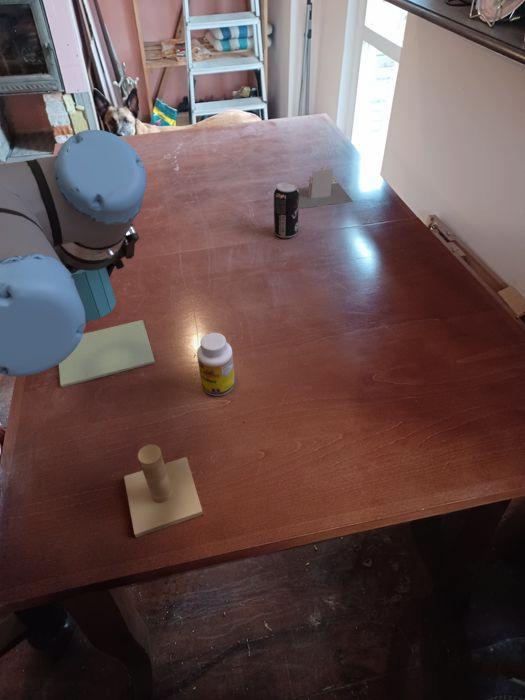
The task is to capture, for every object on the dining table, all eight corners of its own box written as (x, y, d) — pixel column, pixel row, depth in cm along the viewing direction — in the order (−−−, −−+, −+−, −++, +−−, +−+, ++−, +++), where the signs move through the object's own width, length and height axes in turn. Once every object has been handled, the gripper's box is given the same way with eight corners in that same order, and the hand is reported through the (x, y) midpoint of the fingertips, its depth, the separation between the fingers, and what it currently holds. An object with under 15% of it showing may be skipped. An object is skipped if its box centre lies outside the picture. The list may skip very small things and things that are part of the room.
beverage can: (293, 226, 117) (294, 179, 109) (300, 237, 113) (303, 190, 105) (271, 229, 116) (270, 182, 108) (277, 241, 112) (278, 193, 104)
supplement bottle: (195, 385, 80) (187, 341, 73) (219, 368, 83) (214, 323, 76) (217, 403, 77) (211, 359, 70) (242, 384, 80) (238, 340, 73)
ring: (67, 326, 71) (48, 279, 65) (64, 297, 76) (46, 251, 70) (118, 314, 72) (105, 267, 67) (112, 286, 78) (99, 240, 72)
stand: (135, 538, 62) (117, 497, 54) (125, 479, 68) (107, 436, 60) (203, 514, 64) (194, 472, 56) (187, 460, 70) (177, 415, 62)
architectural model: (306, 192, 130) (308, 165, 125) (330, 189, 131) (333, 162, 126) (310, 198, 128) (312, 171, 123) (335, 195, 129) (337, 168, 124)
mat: (61, 387, 80) (60, 385, 80) (57, 342, 89) (56, 340, 88) (155, 363, 84) (154, 360, 84) (143, 321, 92) (142, 319, 92)
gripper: (12, 295, 50) (21, 329, 70) (184, 230, 58) (148, 278, 79) (-23, 229, 49) (-3, 283, 70) (156, 174, 58) (127, 236, 78)
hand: (77, 280), depth 74 cm, fingers closed on ring, 8 cm apart
